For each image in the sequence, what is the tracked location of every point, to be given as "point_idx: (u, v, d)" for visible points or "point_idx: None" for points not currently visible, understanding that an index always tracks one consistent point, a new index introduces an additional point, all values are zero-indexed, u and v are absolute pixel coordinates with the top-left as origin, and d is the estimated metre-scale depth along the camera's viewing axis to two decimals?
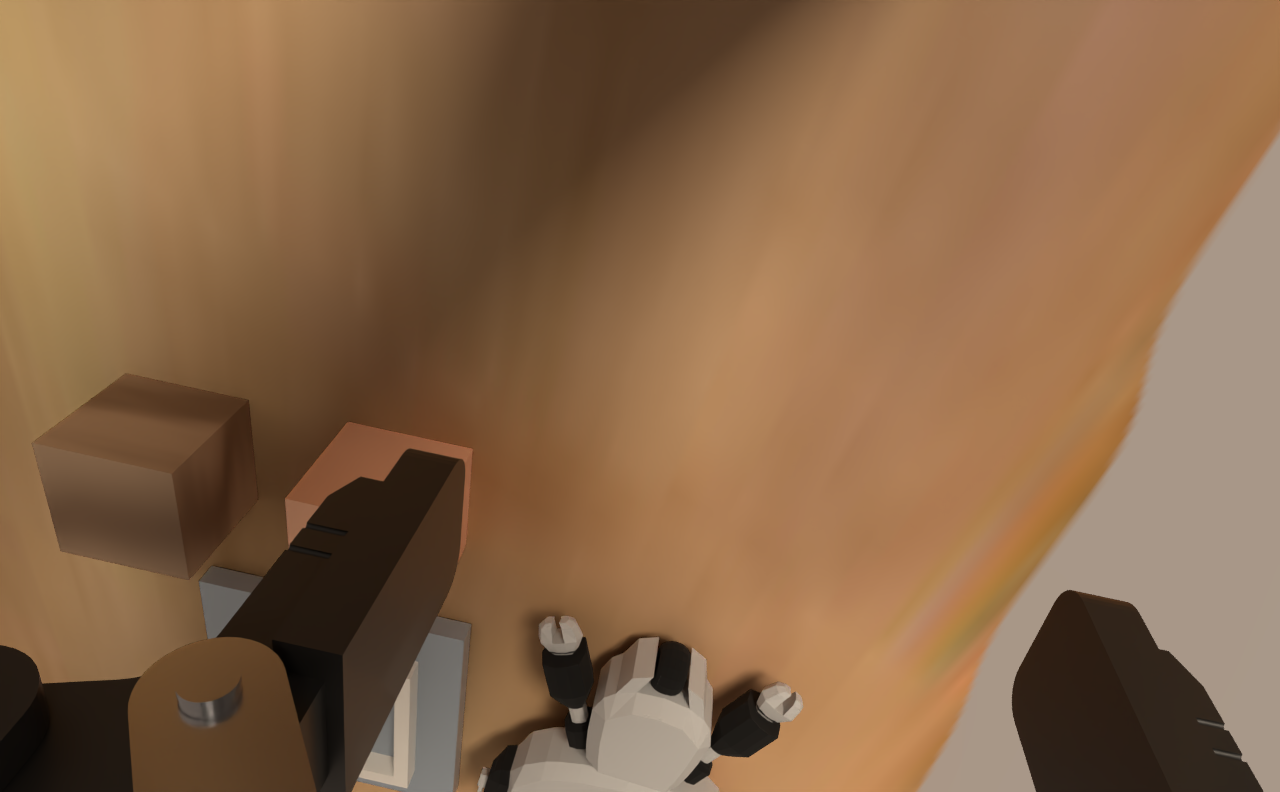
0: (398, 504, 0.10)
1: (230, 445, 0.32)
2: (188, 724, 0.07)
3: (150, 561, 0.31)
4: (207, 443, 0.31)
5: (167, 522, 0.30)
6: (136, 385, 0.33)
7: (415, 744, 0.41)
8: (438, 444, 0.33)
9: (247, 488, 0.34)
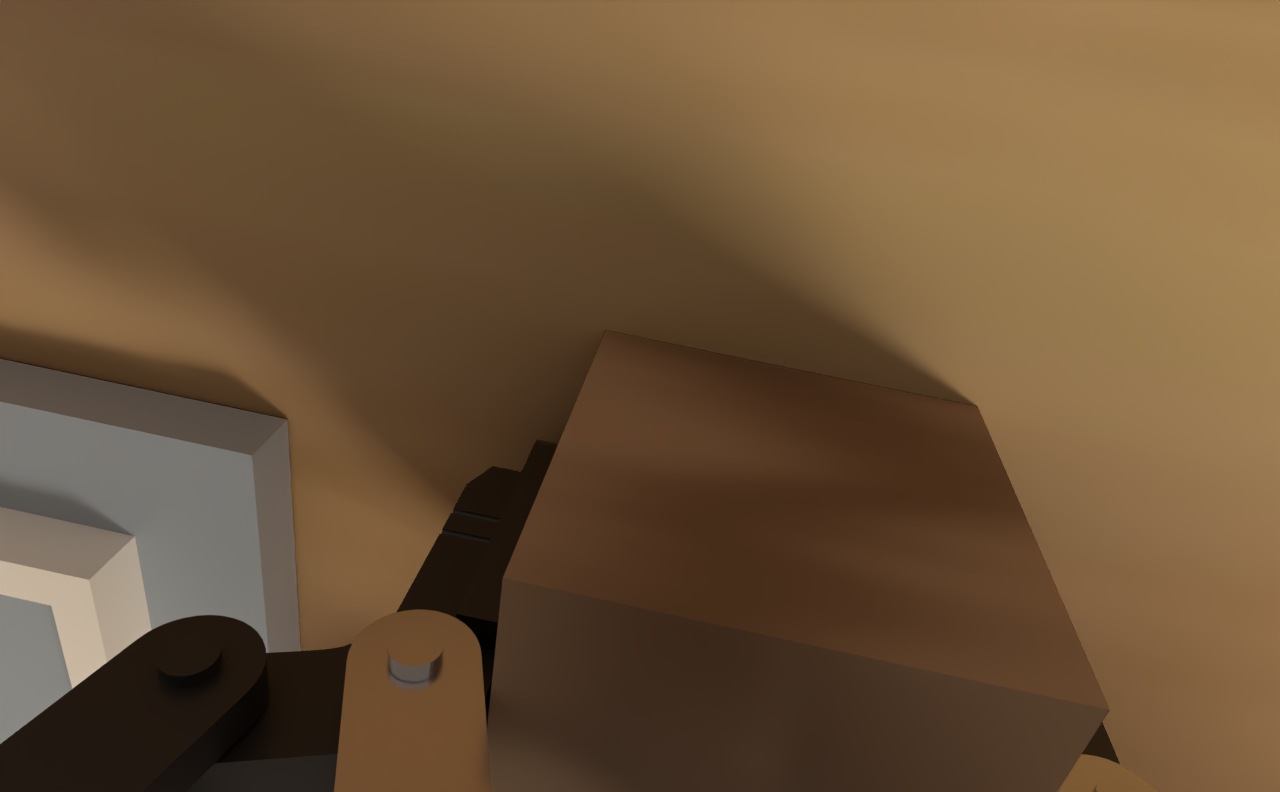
0: None
1: None
2: (404, 688, 0.07)
3: None
4: None
5: None
6: None
7: None
8: None
9: None
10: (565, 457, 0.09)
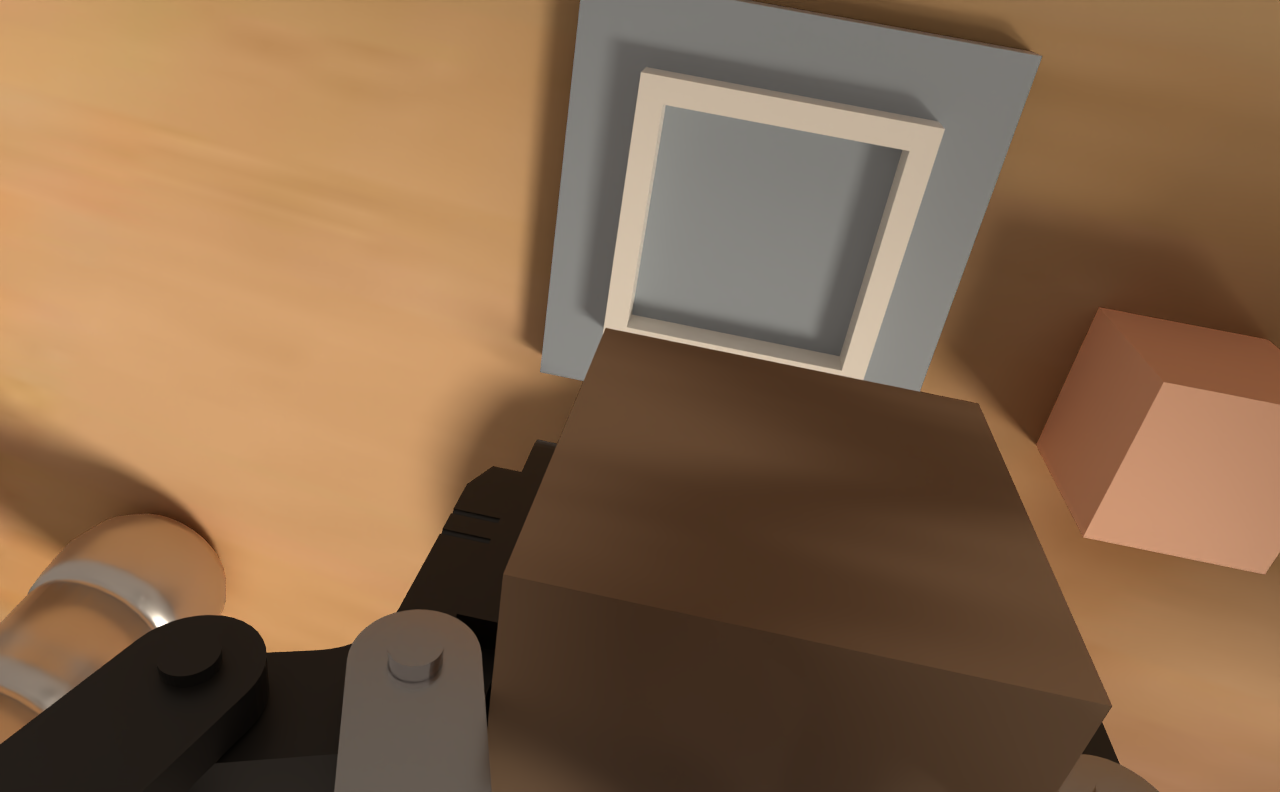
0: None
1: None
2: (405, 688, 0.07)
3: None
4: None
5: None
6: None
7: None
8: None
9: None
10: (565, 454, 0.09)
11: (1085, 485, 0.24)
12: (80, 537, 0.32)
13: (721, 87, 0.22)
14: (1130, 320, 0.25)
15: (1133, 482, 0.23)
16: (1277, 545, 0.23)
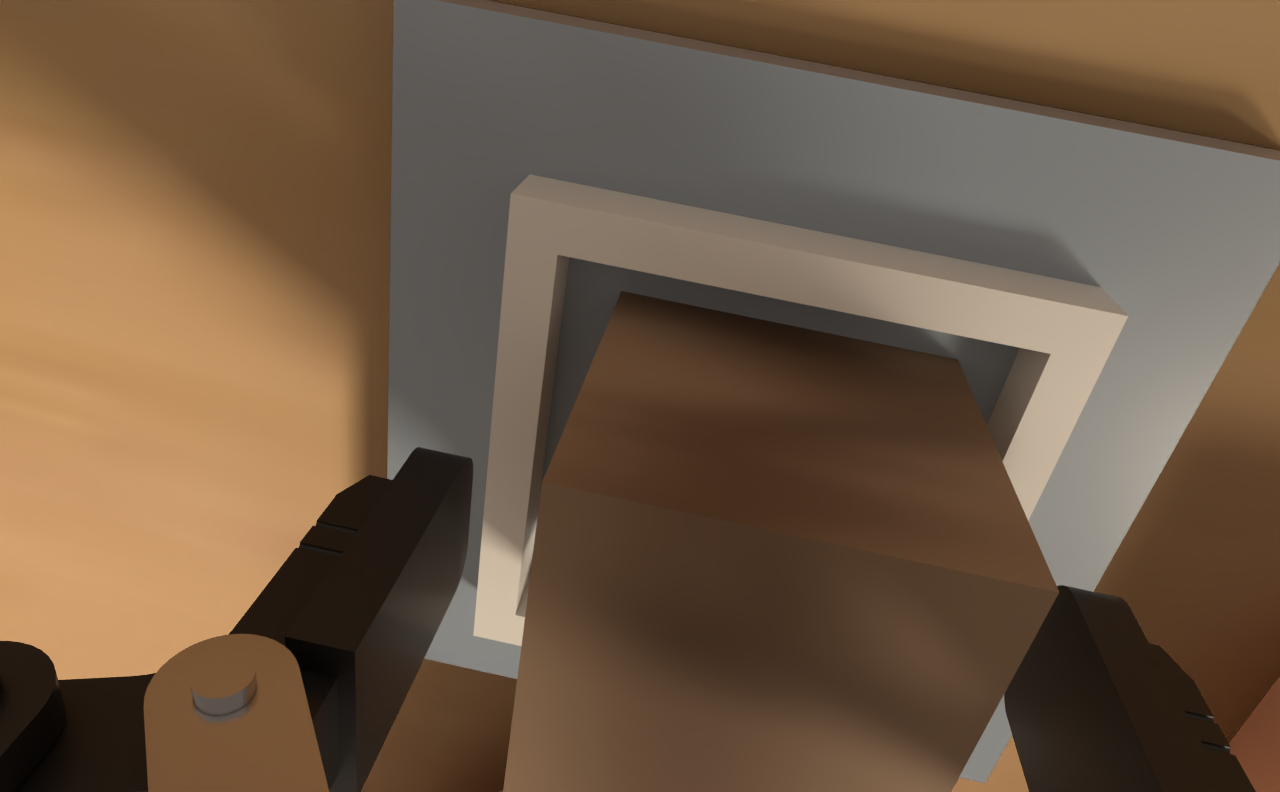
0: (408, 503, 0.10)
1: None
2: (204, 720, 0.07)
3: (554, 737, 0.10)
4: None
5: None
6: None
7: None
8: None
9: None
10: (590, 391, 0.10)
11: None
12: None
13: (673, 225, 0.11)
14: None
15: None
16: None
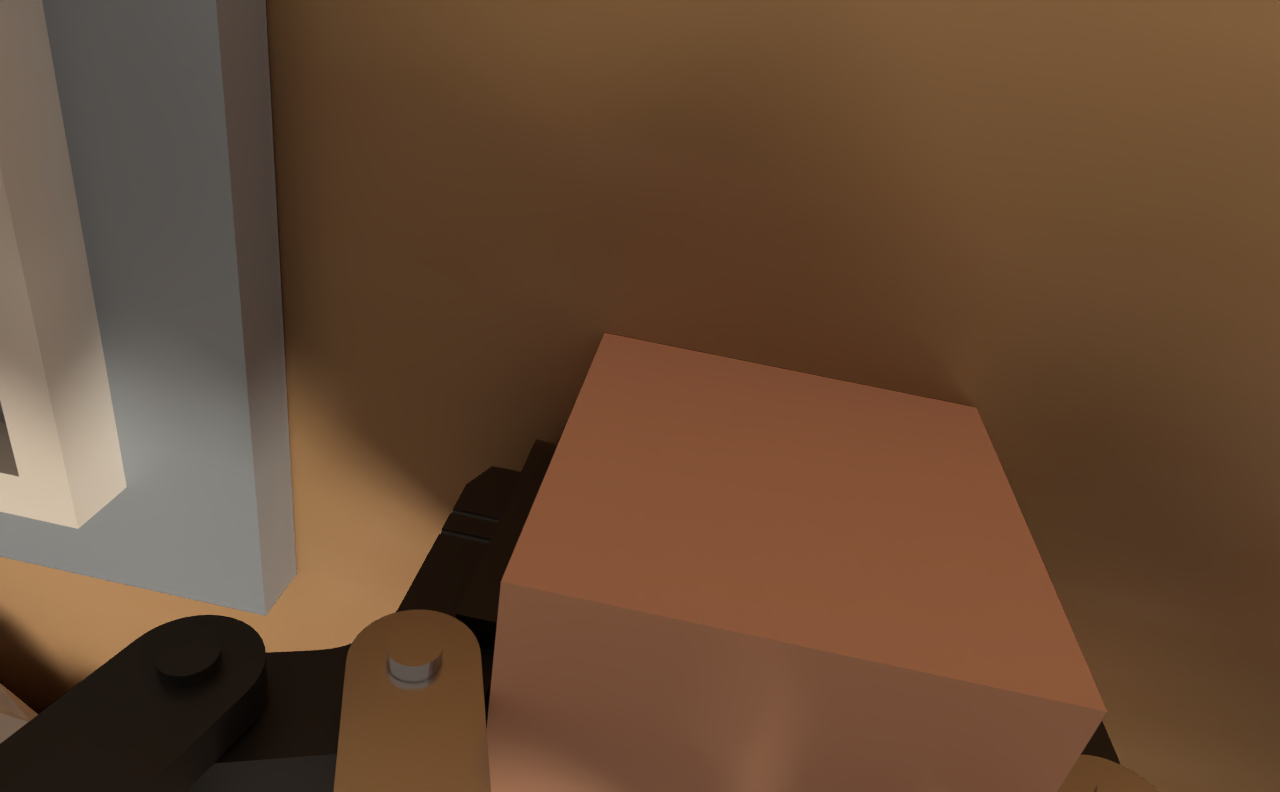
0: None
1: None
2: (403, 688, 0.07)
3: None
4: None
5: None
6: None
7: None
8: None
9: None
10: None
11: None
12: None
13: None
14: (648, 368, 0.11)
15: None
16: None
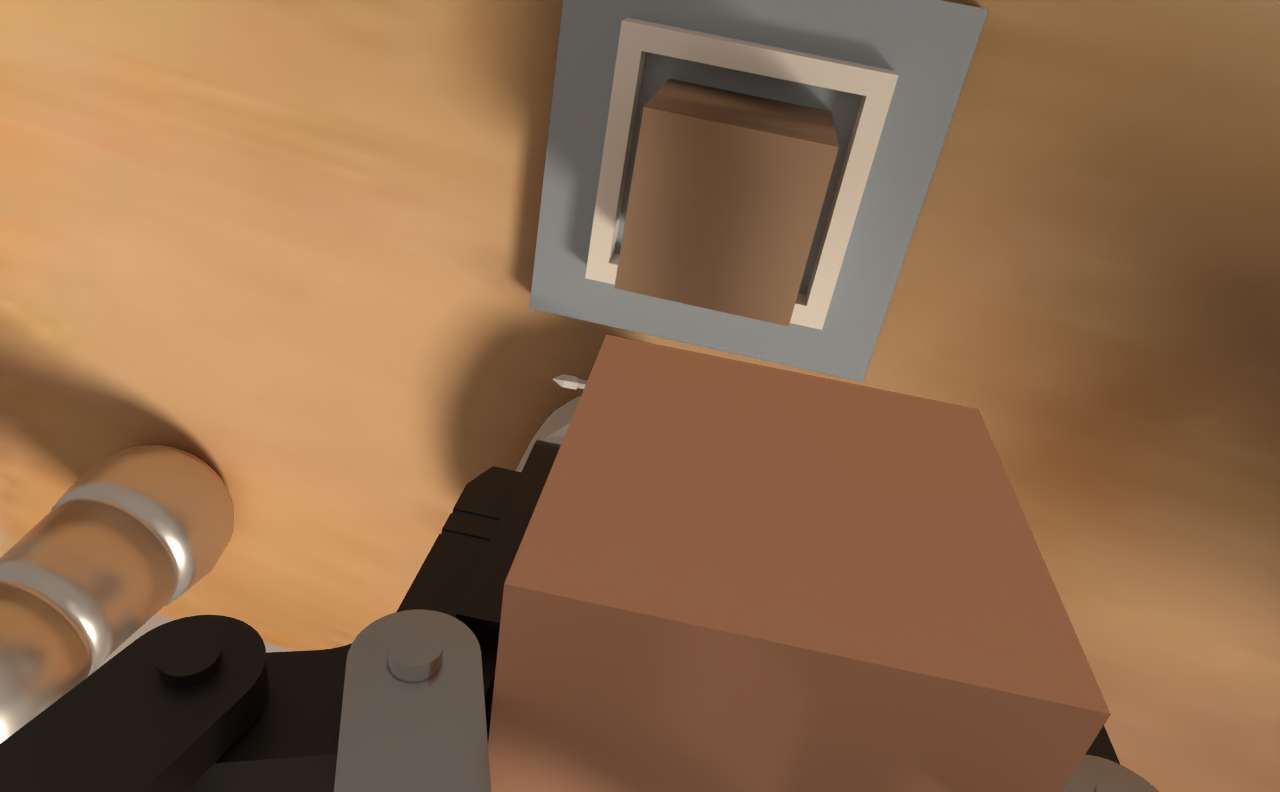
0: (540, 491, 0.10)
1: None
2: (404, 688, 0.07)
3: (640, 244, 0.23)
4: None
5: (710, 293, 0.24)
6: None
7: None
8: None
9: None
10: (658, 95, 0.23)
11: None
12: (99, 463, 0.35)
13: (695, 35, 0.24)
14: (650, 370, 0.11)
15: None
16: None
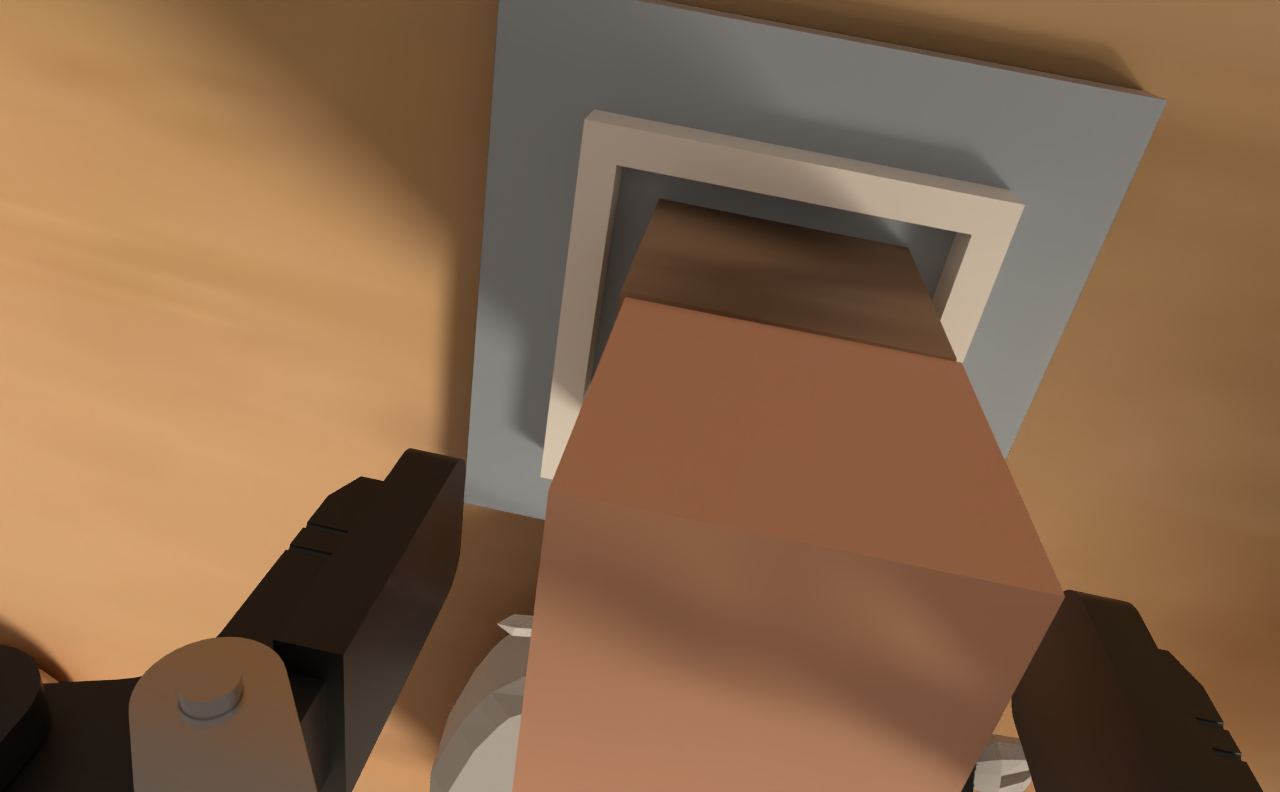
0: (398, 504, 0.10)
1: None
2: (189, 724, 0.07)
3: None
4: None
5: None
6: None
7: None
8: None
9: None
10: (645, 250, 0.14)
11: None
12: None
13: (700, 142, 0.15)
14: (666, 326, 0.12)
15: (567, 708, 0.10)
16: None
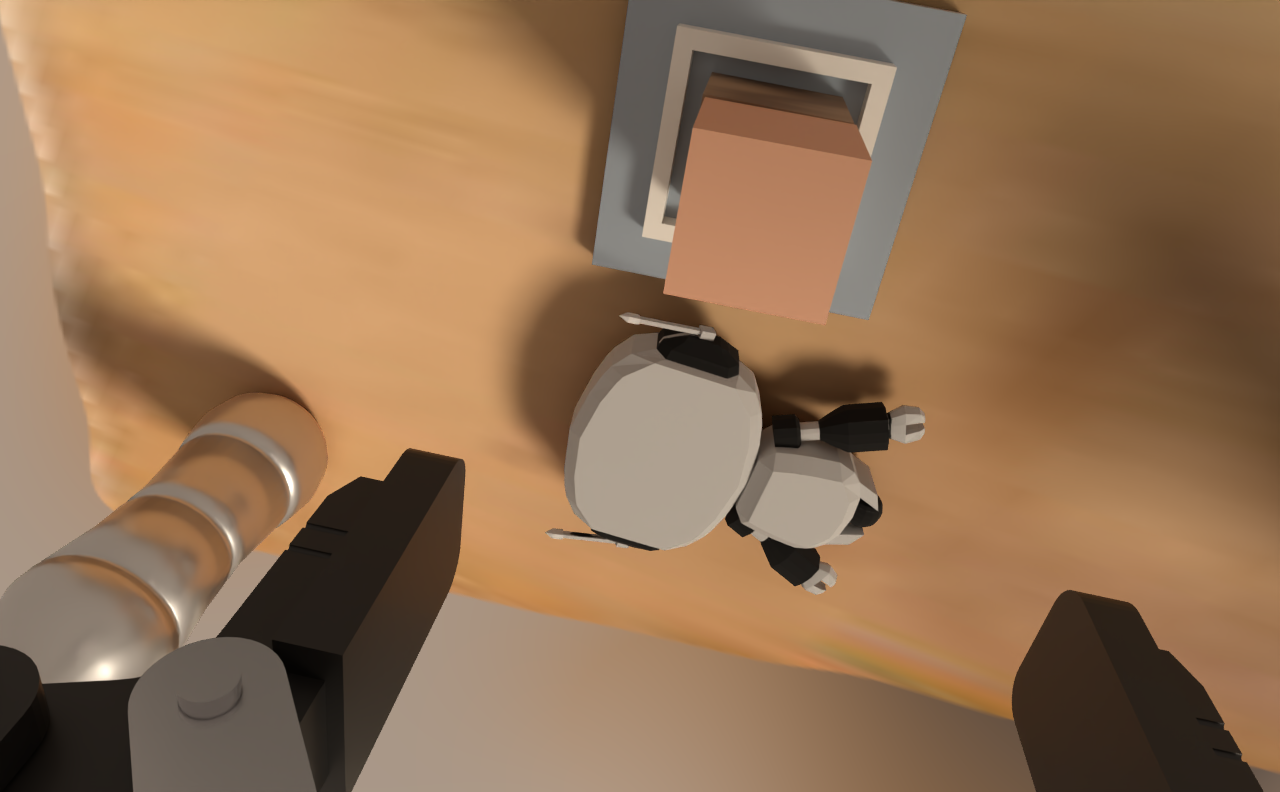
0: (398, 504, 0.10)
1: None
2: (188, 724, 0.07)
3: None
4: None
5: None
6: None
7: None
8: None
9: None
10: (710, 85, 0.29)
11: None
12: (217, 406, 0.41)
13: (735, 37, 0.31)
14: (724, 104, 0.27)
15: (691, 233, 0.25)
16: (828, 294, 0.25)
